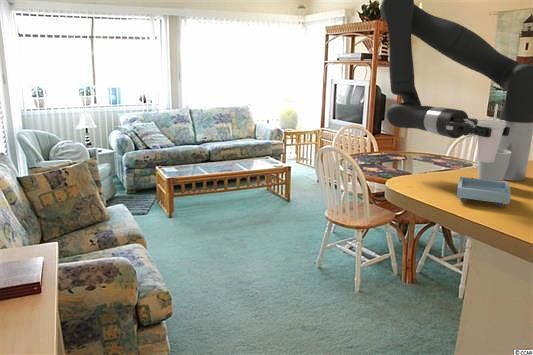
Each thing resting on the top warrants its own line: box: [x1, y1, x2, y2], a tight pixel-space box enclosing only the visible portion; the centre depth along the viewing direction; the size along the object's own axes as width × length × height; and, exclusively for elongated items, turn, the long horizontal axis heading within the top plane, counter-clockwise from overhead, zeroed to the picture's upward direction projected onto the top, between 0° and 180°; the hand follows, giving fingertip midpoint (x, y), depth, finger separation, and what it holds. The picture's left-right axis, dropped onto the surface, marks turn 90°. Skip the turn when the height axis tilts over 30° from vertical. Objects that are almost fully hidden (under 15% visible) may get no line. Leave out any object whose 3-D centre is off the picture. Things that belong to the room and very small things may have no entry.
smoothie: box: [477, 103, 506, 162], centre depth 109 cm, size 6×6×14 cm
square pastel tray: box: [456, 176, 512, 208], centre depth 112 cm, size 12×12×4 cm
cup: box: [477, 148, 511, 182], centre depth 126 cm, size 8×8×10 cm
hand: (499, 132), depth 106 cm, fingers closed on smoothie, 5 cm apart
